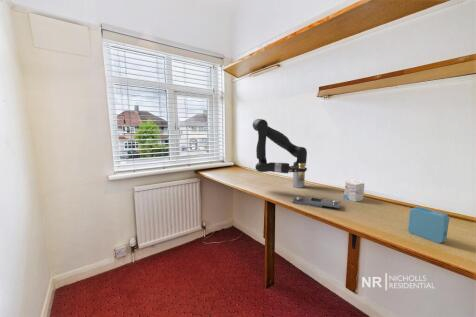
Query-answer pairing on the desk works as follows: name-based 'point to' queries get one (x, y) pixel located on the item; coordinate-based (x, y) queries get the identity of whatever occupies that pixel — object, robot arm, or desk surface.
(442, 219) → the data package
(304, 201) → the chain ends
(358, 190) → the ink box
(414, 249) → the desk surface
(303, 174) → the link pin
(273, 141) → the robot arm
